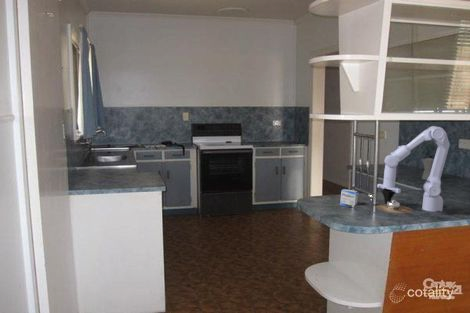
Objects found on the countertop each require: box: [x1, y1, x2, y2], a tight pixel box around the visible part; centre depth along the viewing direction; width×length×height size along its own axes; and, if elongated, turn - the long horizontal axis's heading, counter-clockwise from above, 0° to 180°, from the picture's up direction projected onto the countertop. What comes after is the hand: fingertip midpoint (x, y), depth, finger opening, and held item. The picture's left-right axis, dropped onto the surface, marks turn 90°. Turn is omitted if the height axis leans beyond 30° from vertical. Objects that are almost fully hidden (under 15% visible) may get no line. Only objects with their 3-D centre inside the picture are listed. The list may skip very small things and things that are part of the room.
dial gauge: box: [367, 193, 374, 207], centre depth 212 cm, size 4×4×7 cm
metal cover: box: [387, 199, 401, 210], centre depth 208 cm, size 6×6×4 cm
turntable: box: [375, 203, 414, 214], centre depth 207 cm, size 18×18×2 cm
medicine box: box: [339, 188, 359, 209], centre depth 214 cm, size 8×4×9 cm, turn 56°
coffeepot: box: [420, 155, 434, 181], centre depth 302 cm, size 15×9×18 cm, turn 70°
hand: (387, 203), depth 212 cm, fingers closed
